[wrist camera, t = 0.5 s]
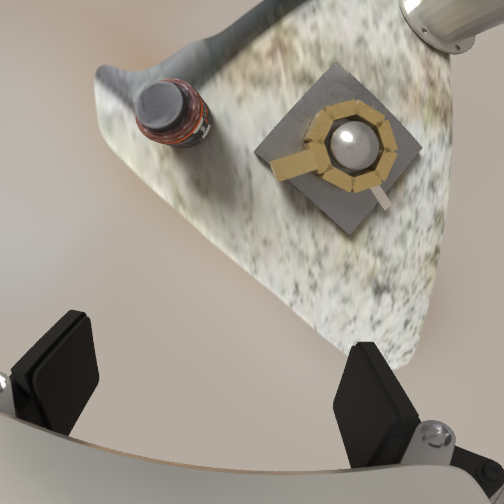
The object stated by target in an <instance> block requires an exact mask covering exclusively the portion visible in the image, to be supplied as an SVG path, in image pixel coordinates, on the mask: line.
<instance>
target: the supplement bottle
mask: <svg viewBox="0 0 504 504" xmlns="http://www.w3.org/2000/svg"><path fill="white" fill-rule="evenodd" d="M135 118H136V123H137V125H138V127H139V129H140V131H141V132H142V133H143V134H144V135H145V136H146V137H147V138H149V139H150V140H153V141H155V142H158V143H161V144H166V145H170V146H175V147H179V148H186V147H191V146H194V145H197V144H198V143H200V142H201V141H202V140H203V139H204V138H205V137H206V136H207V134H208V133H209V131H210V128H211V124H212V117H211V113H210V110H209V108H208V106H207V104H206V103H205V102H204V100H203V99H202V98H201V96H200V95H199V93H198V92H197V91H196V90H195V89H194V88H193V87H192V86H191V85H190V84H189V83H187V82H185V81H183V80H180V79H163V80H160V81H156V82H153V83H151V84H149V85H147V86H146V87H144V89H142V90H141V92H140V93H139V95H138V96H137V98H136V102H135Z"/></svg>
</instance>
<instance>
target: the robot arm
mask: <svg viewBox="0 0 504 504" xmlns="http://www.w3.org/2000/svg"><path fill="white" fill-rule="evenodd" d="M399 4H400V8H401V10H402V13H403V15H404V17H405V19H406V20H407V22H408V24H409V25H410V26H411V28H412V29H413V30H414V31H415V32H416V33H417V34H418V36H419V37H420V38H422V39H423V40H424V41H425V42H426V43H428V44H429V45H431V46H432V47H434V48H435V49H437V50H439V51H441V52H444V53H447V54H461V53H464V52H466V51H467V50H469V49H470V48H471V47H472V46H473V44H474V41H475V35H477V34H479V33H481V32H483V31H486V30H488V29H491V28H493V27H495V26H498V25H500V24H503V23H504V0H399ZM11 372H12V374H11V375H10V376H9V377H8V376H7V375H6V374H4V373H3V372H0V504H504V469H503V468H502V466H501V465H500V464H498V463H497V462H495V461H493V460H491V459H488V458H486V457H483V456H480V455H478V454H475V453H472V452H470V451H467V450H465V449H462V448H460V447H458V446H455V441H456V437H455V434H454V432H453V431H452V429H451V428H450V427H449V426H447V425H446V424H444V423H442V422H439V421H435V420H427V421H423V422H421V421H420V419H419V417H418V416H419V415H418V413H417V412H416V410H415V408H414V406H413V405H412V403H411V401H410V400H409V398H408V396H407V395H406V393H405V391H404V390H403V388H402V386H401V385H400V383H399V382H398V380H397V379H396V377H395V375H394V373H393V372H392V370H391V368H390V367H389V365H388V364H387V362H386V360H385V359H384V357H383V356H382V354H381V353H380V351H379V349H378V348H377V346H376V345H375V343H374V342H357V344H356V346H352V347H351V350H350V353H349V356H348V359H347V363H346V366H345V369H344V373H343V375H342V378H341V381H340V384H339V387H338V390H337V393H336V396H335V399H334V402H333V410H334V413H335V417H336V420H337V423H338V426H339V430H340V433H341V436H342V439H343V442H344V446H345V449H346V453H347V456H348V459H349V463H350V466H351V469H339V470H322V471H295V472H294V471H287V472H286V471H285V472H283V471H276V472H275V471H249V470H234V469H220V468H211V467H203V466H195V465H188V464H181V463H175V462H169V461H163V460H157V459H152V458H147V457H142V456H138V455H133V454H129V453H124V452H121V451H117V450H113V449H109V448H105V447H101V446H98V445H95V444H91V443H88V442H84V441H81V440H78V439H75V438H72V437H69V434H70V432H71V430H72V429H73V427H74V425H75V423H76V421H77V420H78V418H79V416H80V414H81V412H82V411H83V409H84V407H85V406H86V404H87V402H88V400H89V398H90V397H91V395H92V393H93V392H94V390H95V388H96V387H97V385H98V382H99V372H98V366H97V361H96V355H95V349H94V342H93V336H92V328H91V321H90V318H89V317H87V315H86V313H84V312H80V311H75V310H70V311H68V312H67V313H66V314H65V315H64V316H63V317H62V318H61V319H60V320H59V321H58V322H57V323H56V324H55V325H54V326H53V327H52V328H51V329H50V330H49V331H48V332H47V333H45V334H44V336H43V337H42V338H40V339H39V341H37V342H36V344H35V345H34V346H33V347H32V348H31V349H30V350H29V351H28V352H27V353H26V354H25V355H24V356H23V357H22V358H21V359H20V360H19V361H18V362H17V363H16V364H15V365H14V366H13V367H12V368H11Z"/></svg>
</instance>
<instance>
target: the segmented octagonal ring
mask: <svg viewBox="0 0 504 504" xmlns="http://www.w3.org/2000/svg"><path fill="white" fill-rule="evenodd" d="M344 118H349V119H351V120H353V121H357V122H361V123H364V124H366V125H367V126H369V127H370V128H371V129H372V130H373V131H374V133H375V134H376V136H377V139H378V143H379V152H378V155H377V158H376V160H375V161H374V162H373V163H372V164H371V165H370V166H369V167H367V168H365V170H362V171H359V172H356V173H353V174H350V175H348V174H346V173H344V172H342V171H340V170H338V169H337V168H335V167H333V166H332V165H331V162H330V159H329V156H328V153H327V150H326V147H325V144H324V140H325V138H326V136H327V134H328V132H329V130H330V128H331V126H332V123H333V121H337V120H340V119H344ZM384 118H385V115H383V114H382V113H380V112H378V111H377V110H375V109H373V108H372V107H370V106H369V105H367V104H365V103H364V102H362V101H360V100H358V101H356V102H355V99H353V100H349V101H345V102H341V103H337V104H334V105H330V106H326V107H324V108H323V109H321V110H320V111H319V112H318V113H316V114H315V116H314V118H313V120H312V123H311V125H310V127H309V129H308V131H307V133H306V135H305V137H304V139H303V140H304V141H306V142H308V143H306V144H303V146H304V149H305V150H303V151H300V152H297V153H294V154H291V155H288V156H285V157H282V158H279V159H276V160H273V161H270V162H269V164H270V166H271V169H272V172H273V175H274V177H275V180H276V181H278V182H281V181H284V180H287V179H290V178H293V177H296V176H298V175H301V174H304V173H307V172H310V171H312V172H313V173H315V174H317V175H316V177H318V178H320V179H322V180H324V181H326V182H328V183H329V184H331V185H333V186H335V187H337V188H339V189H341V190H343V191H346V192H349V193H350V192H352V193H357V192H360V191H363V190H365V189H368V188H371V187H374V186H377V185H380V184H382V182H381V180H383V181H386V178H387V176H388V174H389V172H390V170H391V168H392V165H393V163H394V161H395V159H396V156H397V153H395V152H394V150H398V148H397V145H396V142H395V138H394V135H393V132H392V129H391V126H390V123H389V120H386V121H384Z"/></svg>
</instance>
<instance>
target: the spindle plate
mask: <svg viewBox="0 0 504 504" xmlns="http://www.w3.org/2000/svg"><path fill="white" fill-rule="evenodd" d="M353 99H355V102H356V101H358V100H360V101H362V102H364V103H365V104H367V105H369V106H370V107H372V108H373V109H375V110H377V111H378V112H380V113H382V114H383V115H385V118H384V121H386V120H389V123H390V126H391V129H392V132H393V135H394V138H395V142H396V145H397V148H398V150H394V152H395V153H397V156H396V159H395V161H394V163H393V165H392V168H391V170H390V172H389V174H388V176H387V178H386V181H383V180H381V182H382V184H380V185H377V186H374V187H371V188H368V189H365V190H363V191H360V192H357V193H352V192H350V193H349V192H346V191H343V190H341V189H339V188H337V187H335V186H333V185H331V184H329V183H328V182H326V181H324V180H322V179H320V178H318V177H316V175H317V174H315V173H313V172H312V171H310V172H307V173H304V174H301V175H298V176H296V177H293V178H290V179H287V180H288V181H289V182H290V183H291V184H292V185H294V186H295V187H296V188H297V189H298V190H299V191H300V192H302V193H303V194H304V195H305V196H306V197H307V198H308V199H310V200H311V201H312V202H313V203H314V204H315V205H316V206H317V207H319V208H320V209H321V210H322V211H323V212H324V213H325V214H326V215H327V216H328V217H330V218H331V219H332V220H333V221H334V222H335V223H336V224H337V225H338V226H339V227H340V228H341V229H343V230H344V231H345V232H346V233H347V234H348V235H350V234H351V233H352V232H353V231H354V230H355V229H356V228H357V226H358V225H359V224H360V223H361V222H362V221H363V220H364V218H365V217H366V216H367V215H368V214H369V212H370V211H371V210H372V209H373V208H374V207H375V205H376V204H377V203H378V202H379V203H380V205H381V206H382V208H383V209H384V211H385V210H386V209H387V208H389V207H390V206H391V205H392V203H391V202H390V200H389V199H388V197H387V196H386V194H385V193H386V192H387V191H388V190H389V189H390V187H391V186H392V185H393V184H394V183H395V181H396V180H397V179H398V178H399V176H400V175H401V174H402V173H403V171H404V170H405V169H406V168H407V167H408V165H409V164H410V163H411V162H412V160H413V159H414V158H415V156H416V155H417V154H418V153H419V151H420V150H421V149H422V147H421V145H420V144H419V143H418V142H417V141H416V140H415V138H414V137H413V136H412V135H411V134H410V133H409V132H408V131H407V129H406V128H405V127H404V126H403V125H402V124H401V123H400V122H399V121H398V120H397V119H396V118H395V117H394V115H393V114H392V113H391V112H390V111H389V110H388V109H387V108H386V107H385V106H384V105H383V104H382V103H381V102H380V101H379V100H378V99H377V98H376V97H375V96H374V95H373V94H372V93H371V92H370V91H368V90H367V89H366V88H365V87H364V86H363V85H362V84H361V83H360V82H359V81H358V80H357V79H356V78H354V77H353V76H352V75H351V74H350V73H349V72H348V71H347V70H345V69H344V68H343V67H342V66H341V65H340V64H339V63H337V62H335V63H334V64H333V65H332V66H331V67H330V68H329V69H328V70H327V71H326V72H325V73H324V74H323V76H322V77H321V78H320V79H319V80H318V81H317V82H316V83H315V84H314V85H313V86H312V87H311V88H310V89H309V90H308V91H307V93H306V94H305V95H304V96H303V97H302V98H301V99H300V100H299V101H298V102H297V103H296V104H295V106H294V107H293V108H292V109H291V110H290V111H289V112H288V113H287V114H286V116H285V117H284V118H283V119H282V120H281V121H280V122H279V123H278V124H277V126H276V127H275V128H274V129H273V130H272V131H271V132H270V134H269V135H268V136H267V137H266V138H265V139H264V140H263V142H262V143H261V144H260V145H259V146H258V147H257V148H256V150H255V151H254V153H256V154H257V155H258V156H259V157H260V158H262V159H263V160H264V161H265V162H267V163H268V164H269V162H270V161H273V160H276V159H279V158H282V157H285V156H288V155H291V154H294V153H297V152H300V151H303V150H305V149H304V146H303V144H306V143H308V142H306V141H304V140H303V139H304V137H305V135H306V133H307V131H308V129H309V127H310V125H311V123H312V120H313V118H314V116H315V114H316V113H318V112H319V111H320V110H321V109H323V108H324V107H326V106H330V105H334V104H337V103H341V102H345V101H349V100H353ZM324 144H325V147H326V150H327V153H328V156H329V159H330V162H331V165H332V166H333V167H335V168H337V169H338V170H340V171H342V172H344V173H346V174H348V175H350V174H353V173H356V172H359V171H362V170H365V168H367V167H369V166H370V165H371V164H372V163H373V162H374V161H375V160H376V158H377V155H378V152H379V143H378V139H377V136H376V134H375V133H374V131H373V130H372V129H371V128H370V127H369V126H367V125H366V124H364V123H361V122H357V121H353V120H351V119H349V118H344V119H340V120H337V121H333V123H332V126H331V128H330V130H329V132H328V134H327V136H326V138H325V140H324ZM269 165H270V164H269Z"/></svg>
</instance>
